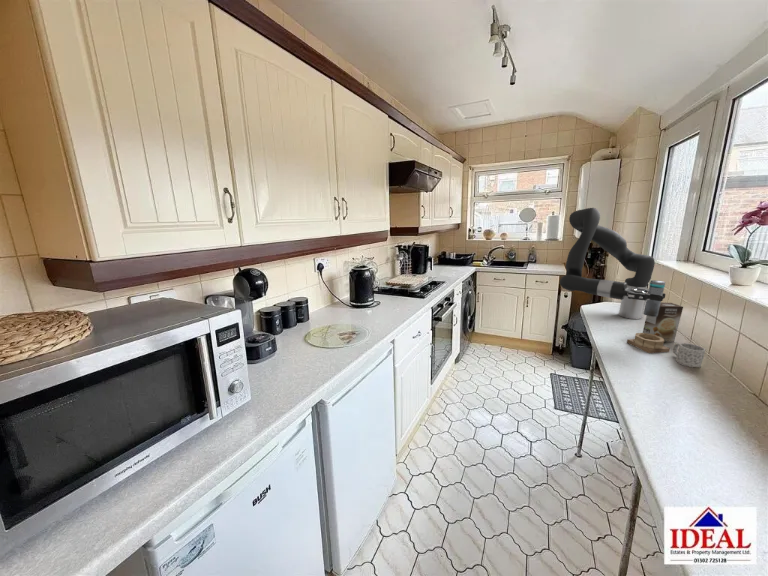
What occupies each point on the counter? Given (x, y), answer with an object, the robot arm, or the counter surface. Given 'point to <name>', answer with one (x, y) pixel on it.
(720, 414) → the counter surface
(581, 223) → the robot arm
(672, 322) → the coffee box
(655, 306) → the cylinder
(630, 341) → the dock
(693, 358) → the mug
